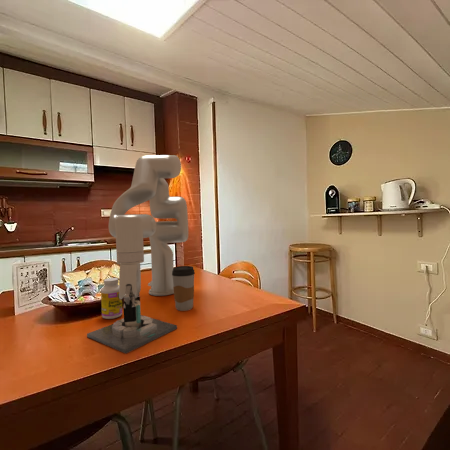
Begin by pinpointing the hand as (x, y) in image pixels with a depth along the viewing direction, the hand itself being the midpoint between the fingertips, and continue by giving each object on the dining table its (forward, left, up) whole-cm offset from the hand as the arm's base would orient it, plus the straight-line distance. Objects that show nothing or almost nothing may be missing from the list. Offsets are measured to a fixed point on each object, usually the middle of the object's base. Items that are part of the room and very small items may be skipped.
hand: (132, 315), depth 83 cm
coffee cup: (-2, +24, -5) cm, 25 cm away
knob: (0, 0, -4) cm, 4 cm away
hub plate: (0, 0, -5) cm, 5 cm away
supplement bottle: (-18, +5, -5) cm, 19 cm away
